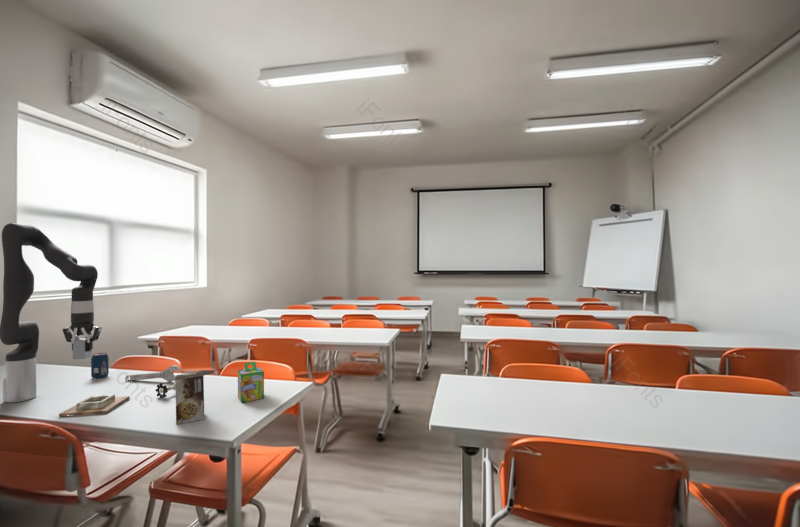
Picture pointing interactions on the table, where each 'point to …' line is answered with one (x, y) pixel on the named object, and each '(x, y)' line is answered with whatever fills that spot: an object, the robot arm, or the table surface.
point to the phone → (206, 372)
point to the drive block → (80, 349)
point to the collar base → (95, 405)
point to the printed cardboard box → (189, 397)
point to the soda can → (99, 366)
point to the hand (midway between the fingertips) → (82, 351)
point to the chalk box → (250, 383)
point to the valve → (164, 389)
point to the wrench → (156, 374)
